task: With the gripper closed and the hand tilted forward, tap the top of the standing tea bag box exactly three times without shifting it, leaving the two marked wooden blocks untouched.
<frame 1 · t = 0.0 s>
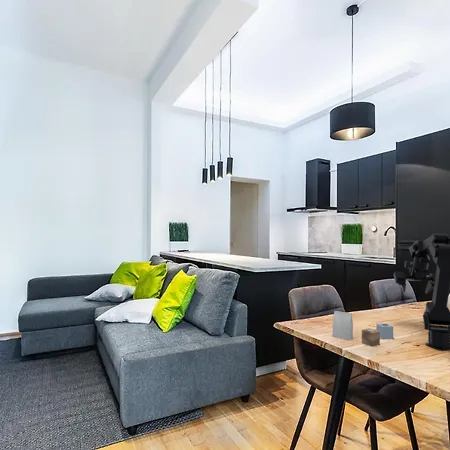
hand: (414, 292, 151), 15 cm above the table, tool tilted 35°, fingers open, 9 cm apart
slate block: (384, 337, 131), on the table
walnut block: (370, 344, 123), on the table
tea bag: (342, 337, 130), on the table
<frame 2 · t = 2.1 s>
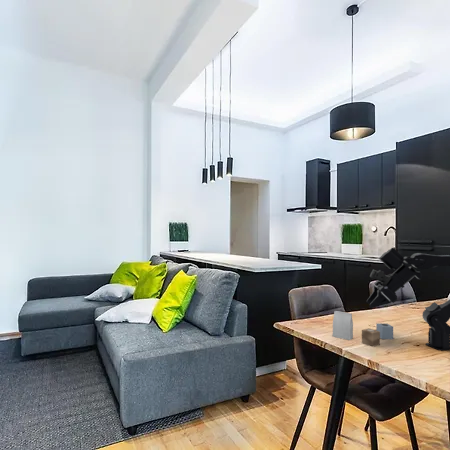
hand: (368, 304, 128), 14 cm above the table, tool tilted 45°, fingers open, 9 cm apart
nothing on the table moved.
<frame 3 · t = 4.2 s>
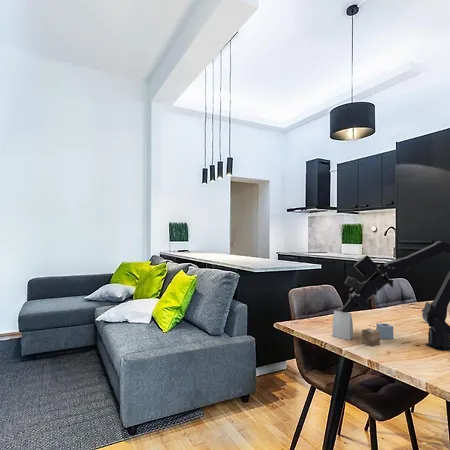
hand: (342, 311, 131), 10 cm above the table, tool tilted 45°, fingers closed, pressing on tea bag
tea bag: (342, 337, 130), on the table, touching gripper
everything else where it was.
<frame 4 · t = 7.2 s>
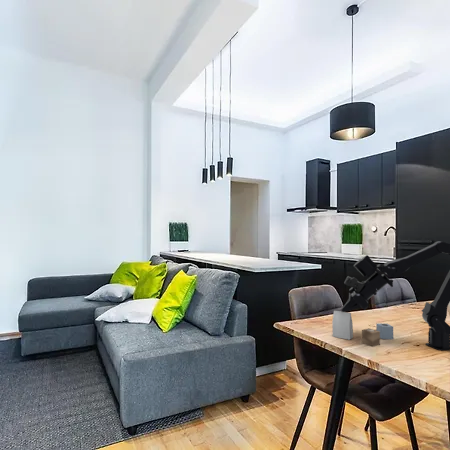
hand: (342, 310, 131), 10 cm above the table, tool tilted 45°, fingers closed
tea bag: (342, 337, 130), on the table
everything else where it was.
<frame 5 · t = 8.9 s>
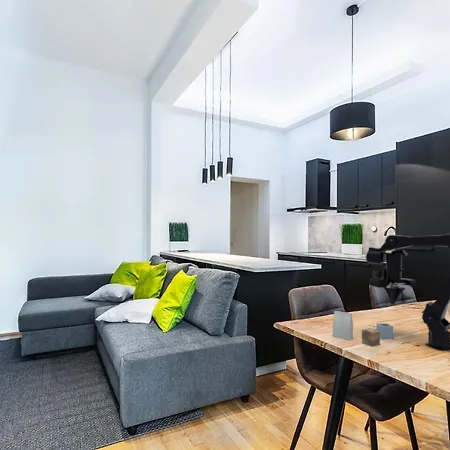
hand: (392, 304, 132), 13 cm above the table, tool pointing down, fingers closed
nothing on the table moved.
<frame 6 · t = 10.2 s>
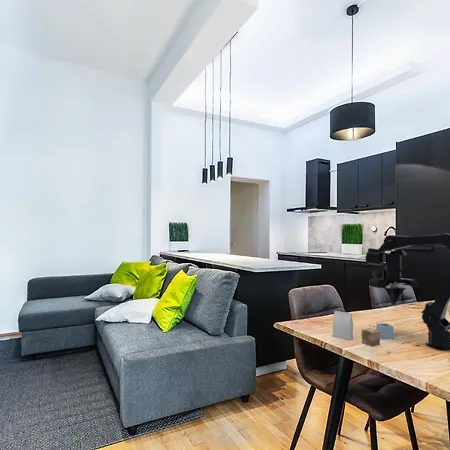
hand: (393, 304, 132), 13 cm above the table, tool pointing down, fingers closed
nothing on the table moved.
at the end: tea bag moved 0.3 cm from its start; tea bag tilted 0°; the gripper is holding nothing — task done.
